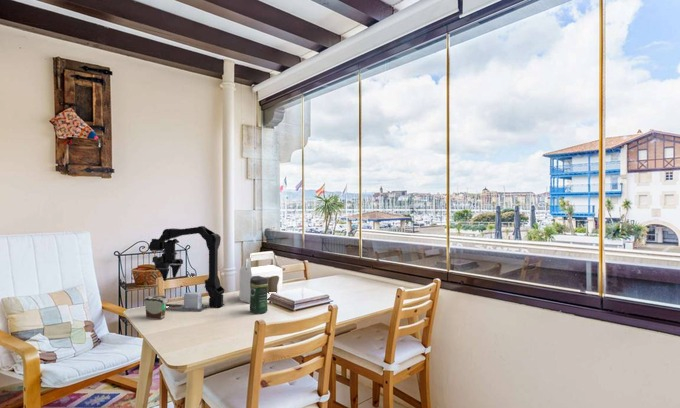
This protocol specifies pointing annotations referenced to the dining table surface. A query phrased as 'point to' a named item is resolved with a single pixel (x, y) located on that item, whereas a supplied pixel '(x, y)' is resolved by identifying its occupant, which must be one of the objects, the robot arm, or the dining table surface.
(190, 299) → the medicine box
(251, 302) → the coffee jar
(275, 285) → the gable box
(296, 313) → the dining table surface
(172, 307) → the rail
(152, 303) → the food container
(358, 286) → the dining table surface
